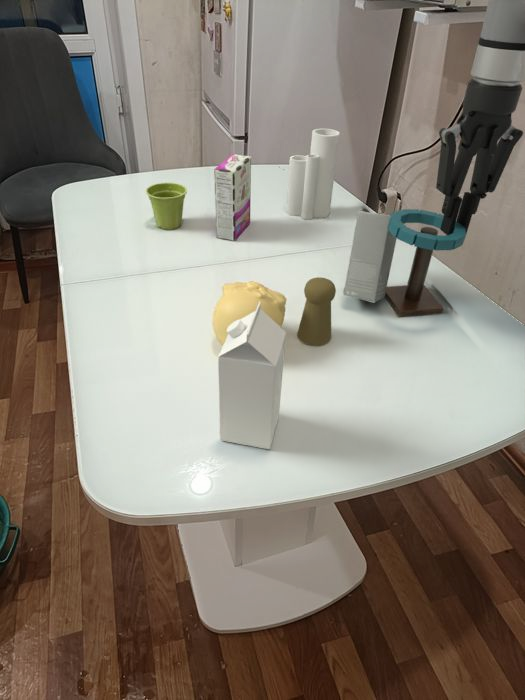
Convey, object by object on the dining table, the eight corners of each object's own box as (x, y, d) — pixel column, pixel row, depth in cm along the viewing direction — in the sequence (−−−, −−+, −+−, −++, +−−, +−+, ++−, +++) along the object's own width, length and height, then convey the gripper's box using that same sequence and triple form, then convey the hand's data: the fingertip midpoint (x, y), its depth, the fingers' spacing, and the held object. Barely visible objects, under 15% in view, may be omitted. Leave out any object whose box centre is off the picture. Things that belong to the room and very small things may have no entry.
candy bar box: (231, 220, 128) (232, 152, 117) (250, 223, 126) (252, 155, 116) (214, 238, 119) (213, 167, 109) (234, 242, 118) (235, 171, 108)
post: (422, 289, 105) (441, 219, 95) (442, 313, 98) (465, 240, 88) (381, 292, 103) (396, 221, 94) (398, 317, 96) (416, 243, 87)
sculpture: (290, 332, 91) (295, 279, 84) (263, 371, 82) (266, 315, 76) (233, 315, 94) (233, 263, 88) (201, 351, 86) (198, 296, 79)
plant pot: (191, 231, 122) (189, 196, 116) (151, 234, 120) (147, 198, 114) (186, 215, 129) (184, 181, 123) (148, 218, 127) (144, 183, 121)
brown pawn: (325, 324, 93) (332, 271, 86) (335, 344, 89) (344, 289, 82) (293, 327, 92) (298, 273, 85) (302, 347, 88) (308, 292, 81)
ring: (438, 218, 93) (441, 209, 92) (476, 249, 84) (480, 239, 83) (376, 218, 90) (378, 209, 89) (408, 251, 81) (411, 240, 80)
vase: (323, 206, 137) (333, 127, 124) (334, 217, 131) (344, 136, 119) (283, 209, 134) (289, 129, 122) (292, 221, 129) (299, 138, 116)
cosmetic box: (374, 304, 94) (395, 216, 89) (338, 294, 96) (356, 209, 91) (385, 298, 101) (406, 217, 96) (352, 289, 104) (369, 210, 99)
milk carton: (279, 414, 75) (288, 305, 63) (270, 450, 69) (277, 339, 57) (232, 406, 76) (232, 297, 64) (219, 441, 70) (217, 329, 58)
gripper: (525, 75, 78) (480, 220, 93) (436, 75, 75) (403, 225, 90) (558, 85, 72) (504, 238, 87) (462, 86, 69) (423, 244, 84)
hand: (453, 231), depth 88 cm, fingers closed on ring, 2 cm apart
